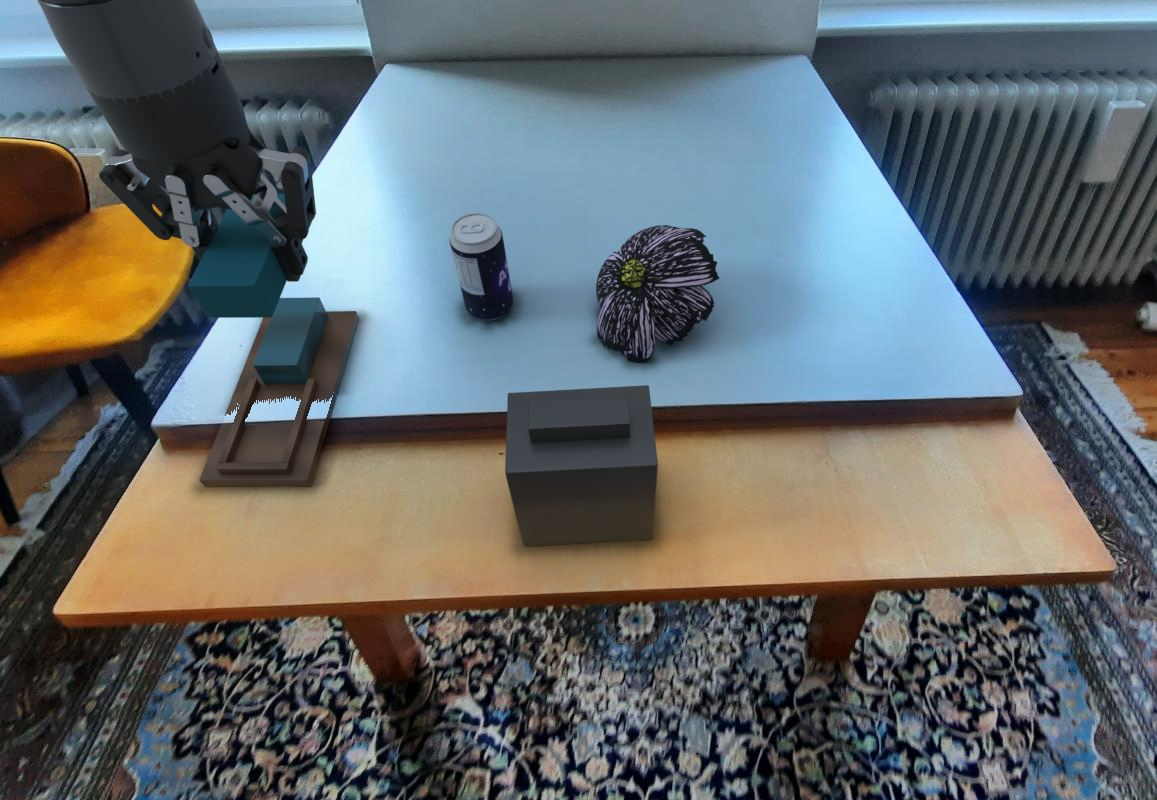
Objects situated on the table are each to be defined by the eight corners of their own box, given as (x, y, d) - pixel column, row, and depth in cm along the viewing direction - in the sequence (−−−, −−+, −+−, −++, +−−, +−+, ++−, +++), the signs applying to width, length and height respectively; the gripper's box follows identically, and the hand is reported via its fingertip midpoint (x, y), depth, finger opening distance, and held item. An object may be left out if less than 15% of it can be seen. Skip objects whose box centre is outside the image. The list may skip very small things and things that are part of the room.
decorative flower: (554, 236, 79) (684, 180, 77) (581, 282, 90) (696, 234, 88) (595, 353, 74) (737, 296, 72) (619, 387, 85) (742, 338, 83)
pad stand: (523, 546, 68) (501, 459, 56) (524, 472, 73) (504, 377, 61) (652, 540, 67) (659, 451, 56) (645, 466, 72) (649, 369, 60)
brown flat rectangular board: (311, 486, 73) (295, 462, 69) (204, 486, 73) (183, 463, 70) (359, 317, 87) (348, 290, 83) (268, 319, 87) (254, 292, 84)
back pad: (272, 317, 53) (254, 285, 50) (207, 318, 53) (186, 286, 50) (309, 226, 59) (294, 193, 56) (251, 227, 59) (234, 194, 56)
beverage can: (512, 324, 85) (498, 244, 75) (464, 325, 85) (444, 246, 75) (515, 290, 88) (502, 209, 79) (469, 291, 88) (450, 211, 79)
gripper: (-3, 96, 41) (154, 310, 54) (246, 90, 40) (342, 309, 53) (60, 29, 45) (190, 242, 59) (285, 22, 44) (365, 240, 58)
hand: (262, 273), depth 56 cm, fingers closed on back pad, 4 cm apart
